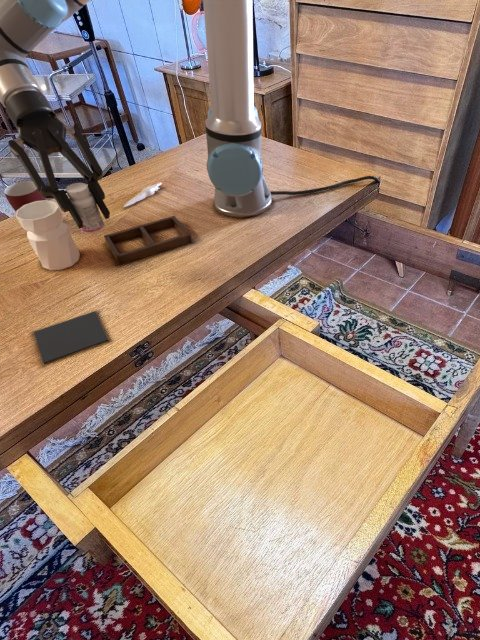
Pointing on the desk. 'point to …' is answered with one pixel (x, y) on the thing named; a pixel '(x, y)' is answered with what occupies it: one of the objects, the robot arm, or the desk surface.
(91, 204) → the pill bottle
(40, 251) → the vase
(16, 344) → the desk surface
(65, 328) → the mat
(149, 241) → the rack
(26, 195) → the mug
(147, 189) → the white elongated piece
